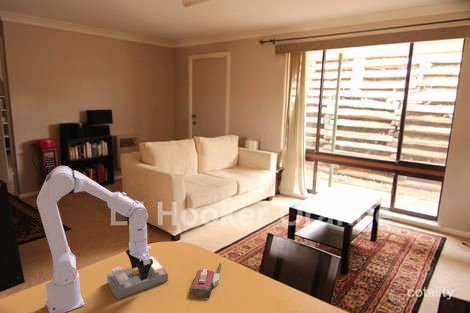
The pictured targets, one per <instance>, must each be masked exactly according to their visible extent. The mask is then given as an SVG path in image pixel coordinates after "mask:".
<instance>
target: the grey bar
mask: <svg viewBox="0 0 470 313" xmlns="http://www.w3.org/2000/svg"><path fill="white" fill-rule="evenodd" d="M123 270H124V269H123V268H122V266H117V267H114V268H112V269H111V274H112V273H113V275H114V276H115V278H116V279H117V281H118V283H119V284H120V285H122V284H125V283H128V282H129V278H128V276H127V275H126V274H125V272H124V271H123Z"/></svg>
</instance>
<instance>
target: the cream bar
mask: <svg viewBox="0 0 470 313" xmlns="http://www.w3.org/2000/svg"><path fill="white" fill-rule="evenodd" d="M149 258H150V259H152V260H153V264H152V265H151V267H150V268H151V269H152V270H153V272H154V273H156V272H159V271H162V270H163V269H164V267H163V266H162V264H160V262H158V261H157V259H156V258H155V257H154V256H149Z"/></svg>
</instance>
